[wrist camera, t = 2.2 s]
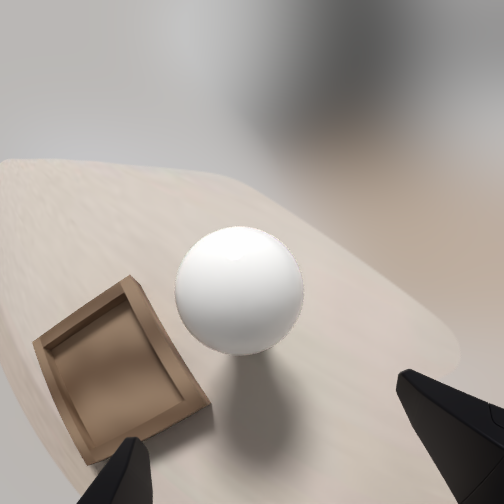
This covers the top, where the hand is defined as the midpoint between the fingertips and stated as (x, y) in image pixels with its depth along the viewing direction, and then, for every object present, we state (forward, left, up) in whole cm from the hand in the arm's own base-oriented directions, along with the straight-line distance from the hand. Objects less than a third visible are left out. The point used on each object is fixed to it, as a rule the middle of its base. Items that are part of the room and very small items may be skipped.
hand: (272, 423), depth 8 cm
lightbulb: (+6, -2, -12) cm, 14 cm away
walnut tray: (+8, +9, -12) cm, 17 cm away
